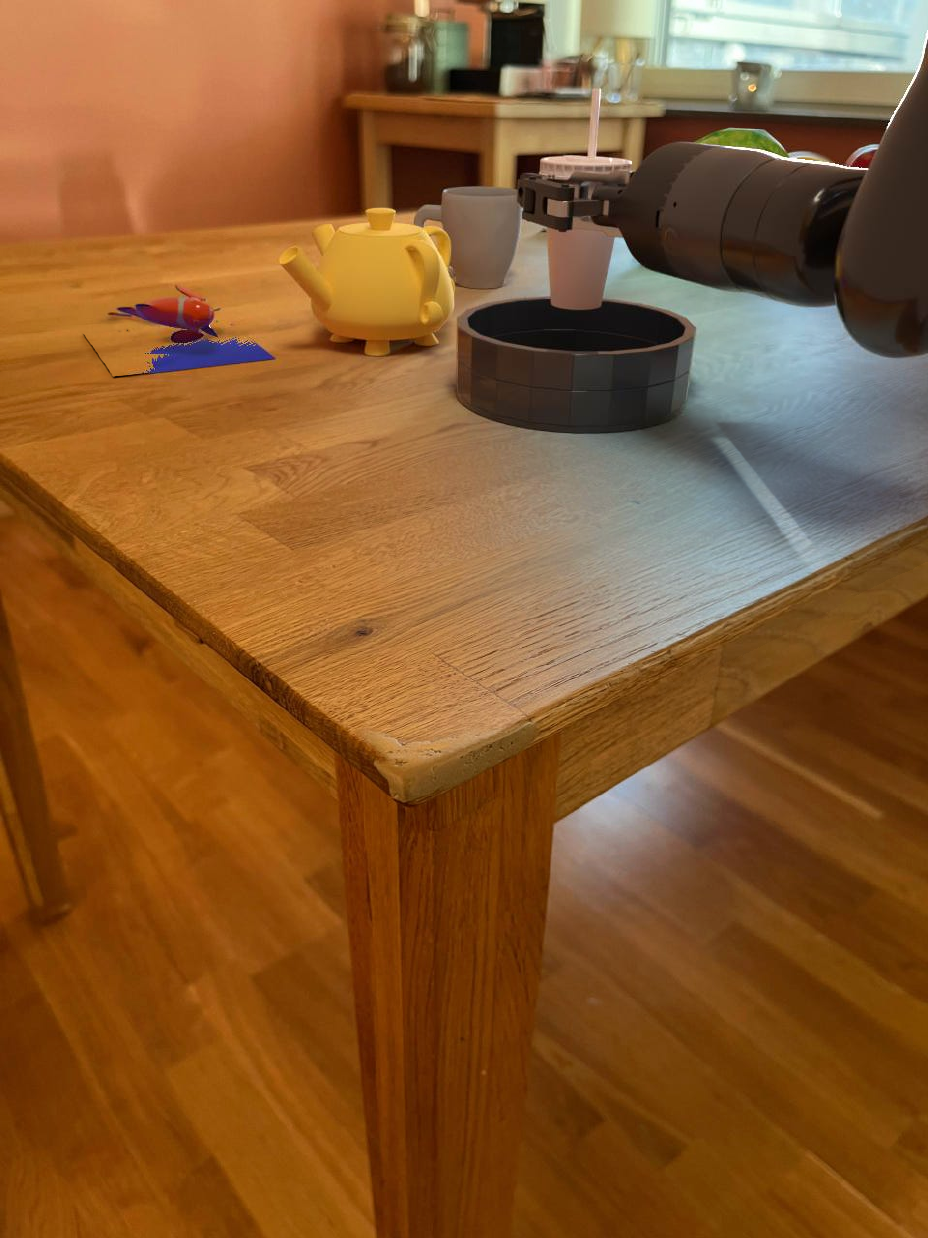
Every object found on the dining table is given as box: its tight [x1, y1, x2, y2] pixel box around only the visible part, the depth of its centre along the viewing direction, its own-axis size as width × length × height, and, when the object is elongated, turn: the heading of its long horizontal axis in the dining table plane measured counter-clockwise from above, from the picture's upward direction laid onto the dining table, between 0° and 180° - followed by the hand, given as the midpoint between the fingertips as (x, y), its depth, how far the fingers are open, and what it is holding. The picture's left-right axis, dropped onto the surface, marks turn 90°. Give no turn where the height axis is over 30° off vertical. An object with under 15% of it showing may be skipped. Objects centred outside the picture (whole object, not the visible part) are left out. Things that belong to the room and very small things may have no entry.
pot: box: [455, 295, 697, 434], centre depth 75 cm, size 18×18×6 cm
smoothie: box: [538, 87, 633, 310], centre depth 69 cm, size 6×6×14 cm
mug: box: [413, 185, 523, 290], centre depth 109 cm, size 12×9×10 cm
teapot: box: [278, 207, 456, 357], centre depth 86 cm, size 14×14×11 cm
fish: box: [107, 284, 221, 344], centre depth 85 cm, size 13×5×9 cm
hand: (566, 187), depth 70 cm, fingers closed on smoothie, 6 cm apart
